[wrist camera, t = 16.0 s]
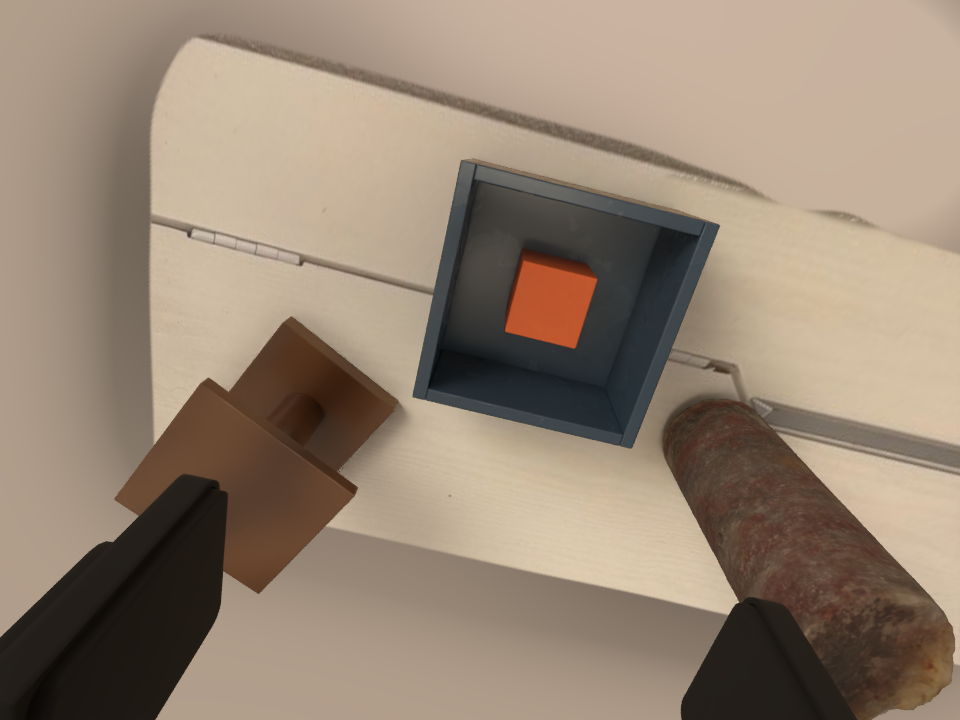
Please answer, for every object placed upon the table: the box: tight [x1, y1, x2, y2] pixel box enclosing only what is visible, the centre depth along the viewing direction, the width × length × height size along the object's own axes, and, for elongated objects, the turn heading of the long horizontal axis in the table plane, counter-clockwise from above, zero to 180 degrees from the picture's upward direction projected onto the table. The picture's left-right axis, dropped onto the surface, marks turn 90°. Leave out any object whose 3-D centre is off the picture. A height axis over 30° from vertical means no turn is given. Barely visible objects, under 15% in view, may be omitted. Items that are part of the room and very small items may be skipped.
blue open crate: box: [413, 159, 720, 448], centre depth 33 cm, size 14×14×8 cm
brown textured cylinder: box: [663, 399, 955, 720], centre depth 31 cm, size 8×7×20 cm
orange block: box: [505, 248, 598, 349], centre depth 34 cm, size 4×4×4 cm
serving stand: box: [115, 317, 398, 594], centre depth 35 cm, size 10×10×12 cm
